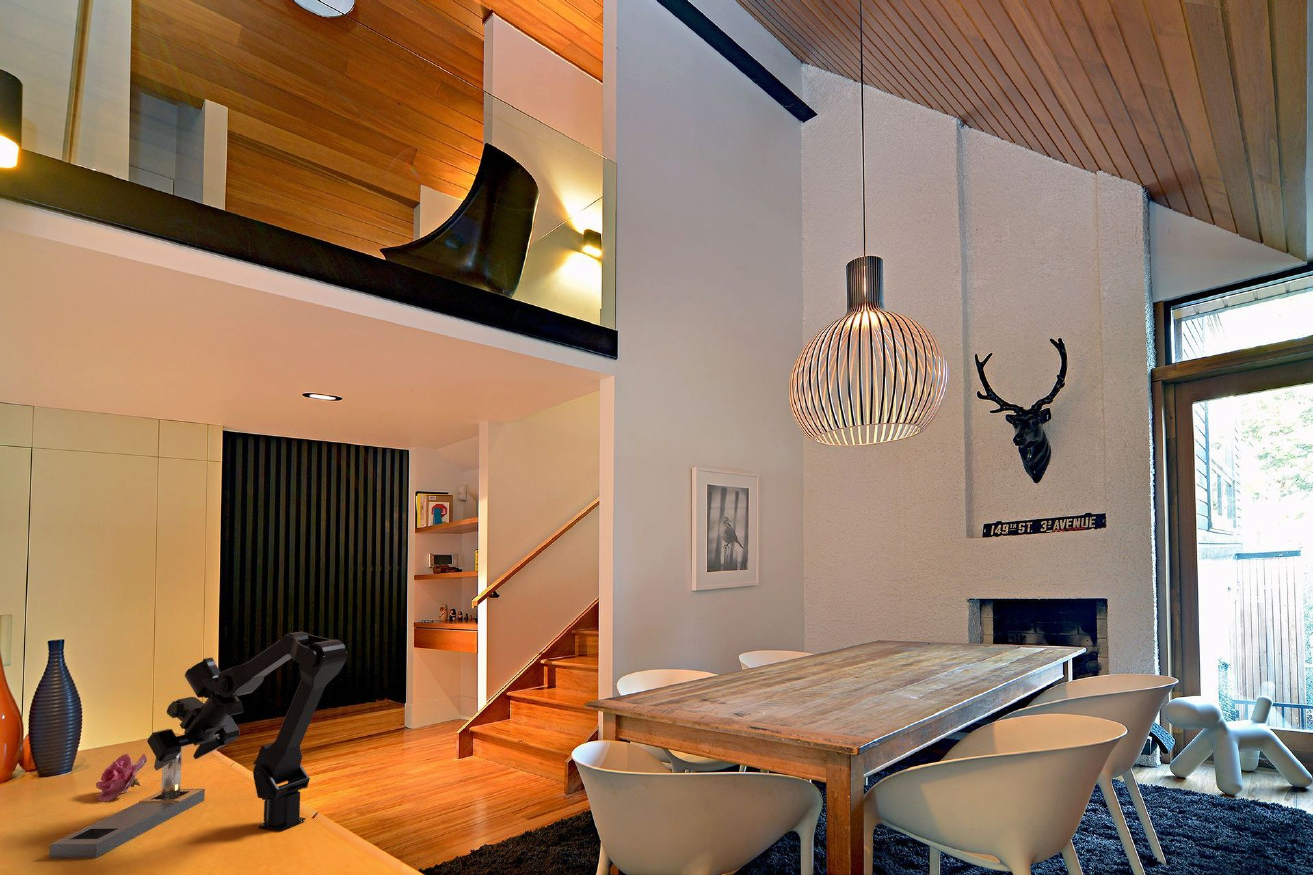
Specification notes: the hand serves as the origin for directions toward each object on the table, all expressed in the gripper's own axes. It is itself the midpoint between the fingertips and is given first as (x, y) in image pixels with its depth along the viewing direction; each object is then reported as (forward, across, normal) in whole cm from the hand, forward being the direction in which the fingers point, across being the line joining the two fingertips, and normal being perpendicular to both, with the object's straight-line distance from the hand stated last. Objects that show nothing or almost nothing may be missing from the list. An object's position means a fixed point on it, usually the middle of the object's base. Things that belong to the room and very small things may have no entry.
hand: (175, 762), depth 176 cm
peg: (+8, 0, +6) cm, 10 cm away
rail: (+5, +11, +9) cm, 15 cm away
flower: (+23, -3, -9) cm, 24 cm away
